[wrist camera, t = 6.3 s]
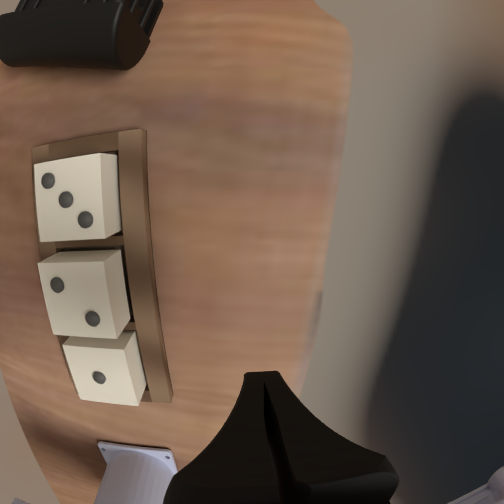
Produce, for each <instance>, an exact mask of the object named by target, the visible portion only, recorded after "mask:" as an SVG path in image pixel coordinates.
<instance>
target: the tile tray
mask: <svg viewBox="0 0 504 504" xmlns="http://www.w3.org/2000/svg"><path fill="white" fill-rule="evenodd" d="M96 153H105V154H112V155H118V169H119V191H120V208H121V221H122V230H121V231H119V232H117V233H115V234H113V235H111V236H109V237H107V238H106V239H87V240H69V241H52V242H40V236H39V228H38V219H37V208H36V195H35V177H34V164H38V163H43V162H49V161H54V160H59V159H65V158H71V157H77V156H83V155H90V154H96ZM32 177H33V196H34V209H35V219H36V228H37V236H38V244H39V251H40V257H41V261H43V260H45V259H46V258H48V257H50V256H52V255H54V254H56V253H58V252H68V251H93V250H119V249H121V258H122V266H123V274H124V281H125V288H126V295H127V301H128V307H129V313H130V320H129V322H128V323H127V325H126V326H125V328H124V329H123V330H136V333H137V338H138V343H139V348H140V353H141V358H142V363H143V367H144V372H145V376H146V380H147V384H146V387H145V390H144V392H143V395H142V398H141V400H140V401H144V402H160V403H171V401H172V397H173V390H172V385H171V380H170V375H169V369H168V364H167V358H166V352H165V346H164V340H163V333H162V327H161V320H160V313H159V305H158V297H157V289H156V281H155V272H154V262H153V252H152V240H151V228H150V213H149V196H148V173H147V131H146V130H144V129H134V130H126V131H119V132H112V133H105V134H99V135H93V136H87V137H81V138H76V139H70V140H65V141H60V142H55V143H51V144H46V145H42V146H37V147H33V148H32ZM69 337H70V336H65V335H58V339H59V342H60V346H61V349H62V352H63V356H64V359H65V362H66V365H67V368H68V371H69V374H70V377H71V380H72V382H73V385H74V388H75V391H76V393H77V394H78V391H77V388H76V386H75V383H74V380H73V377H72V374H71V371H70V368H69V365H68V362H67V359H66V356H65V353H64V349H63V346H62V345H63V344H64V342H65V341H66V340H67V339H68V338H69Z"/></svg>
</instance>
